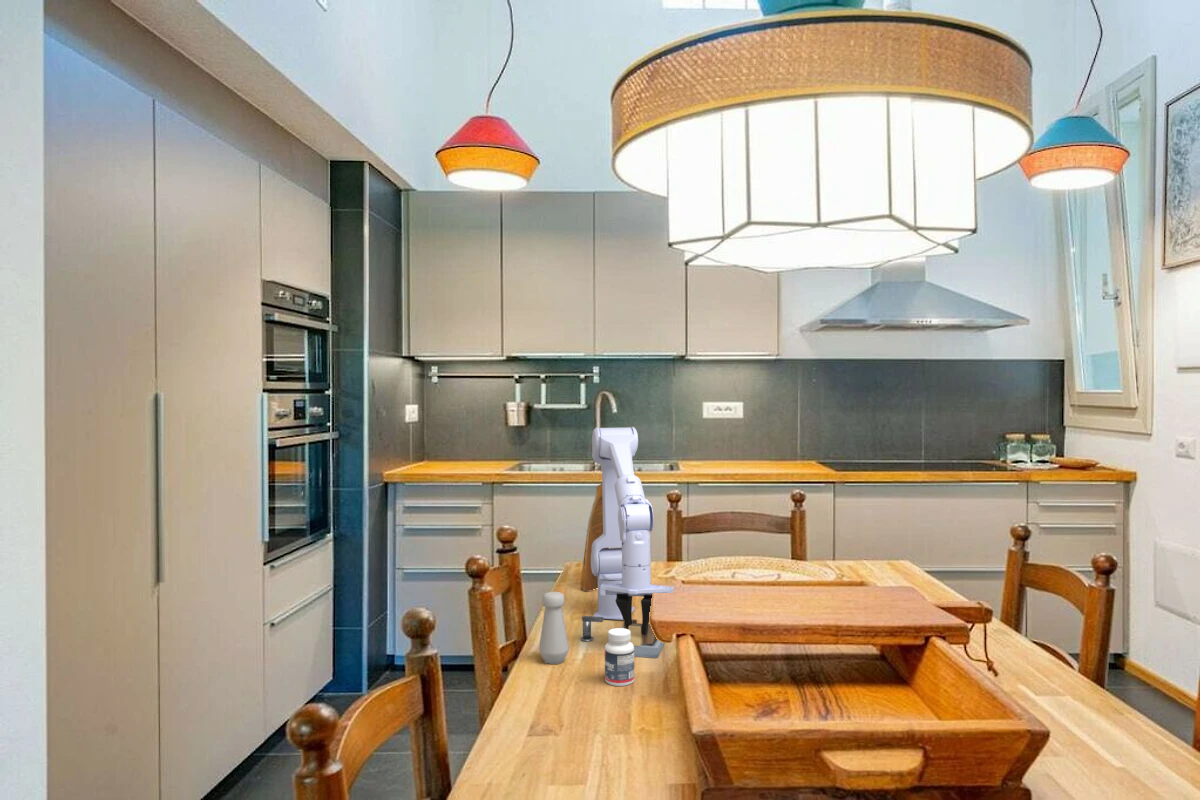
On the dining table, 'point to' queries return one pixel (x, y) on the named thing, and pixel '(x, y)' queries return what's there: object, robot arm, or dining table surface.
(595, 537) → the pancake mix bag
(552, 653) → the salt shaker
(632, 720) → the dining table surface
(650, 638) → the wooden stool frame
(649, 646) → the tray
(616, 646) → the pill bottle
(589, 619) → the grey lever handle
